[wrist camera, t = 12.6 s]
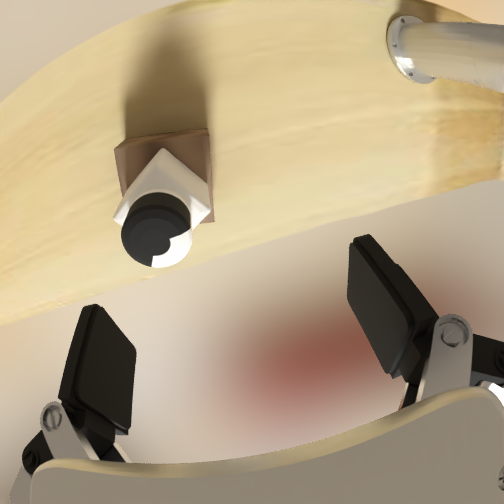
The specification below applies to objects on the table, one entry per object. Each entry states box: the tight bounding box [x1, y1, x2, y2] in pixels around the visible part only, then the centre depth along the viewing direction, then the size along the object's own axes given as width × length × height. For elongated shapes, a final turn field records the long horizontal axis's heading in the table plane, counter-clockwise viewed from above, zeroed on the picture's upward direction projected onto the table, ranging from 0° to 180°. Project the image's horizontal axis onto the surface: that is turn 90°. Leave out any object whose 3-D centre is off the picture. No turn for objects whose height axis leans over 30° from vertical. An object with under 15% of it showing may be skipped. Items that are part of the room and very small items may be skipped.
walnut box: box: [114, 129, 215, 224], centre depth 33 cm, size 11×11×6 cm
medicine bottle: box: [113, 148, 211, 267], centre depth 26 cm, size 7×7×12 cm
